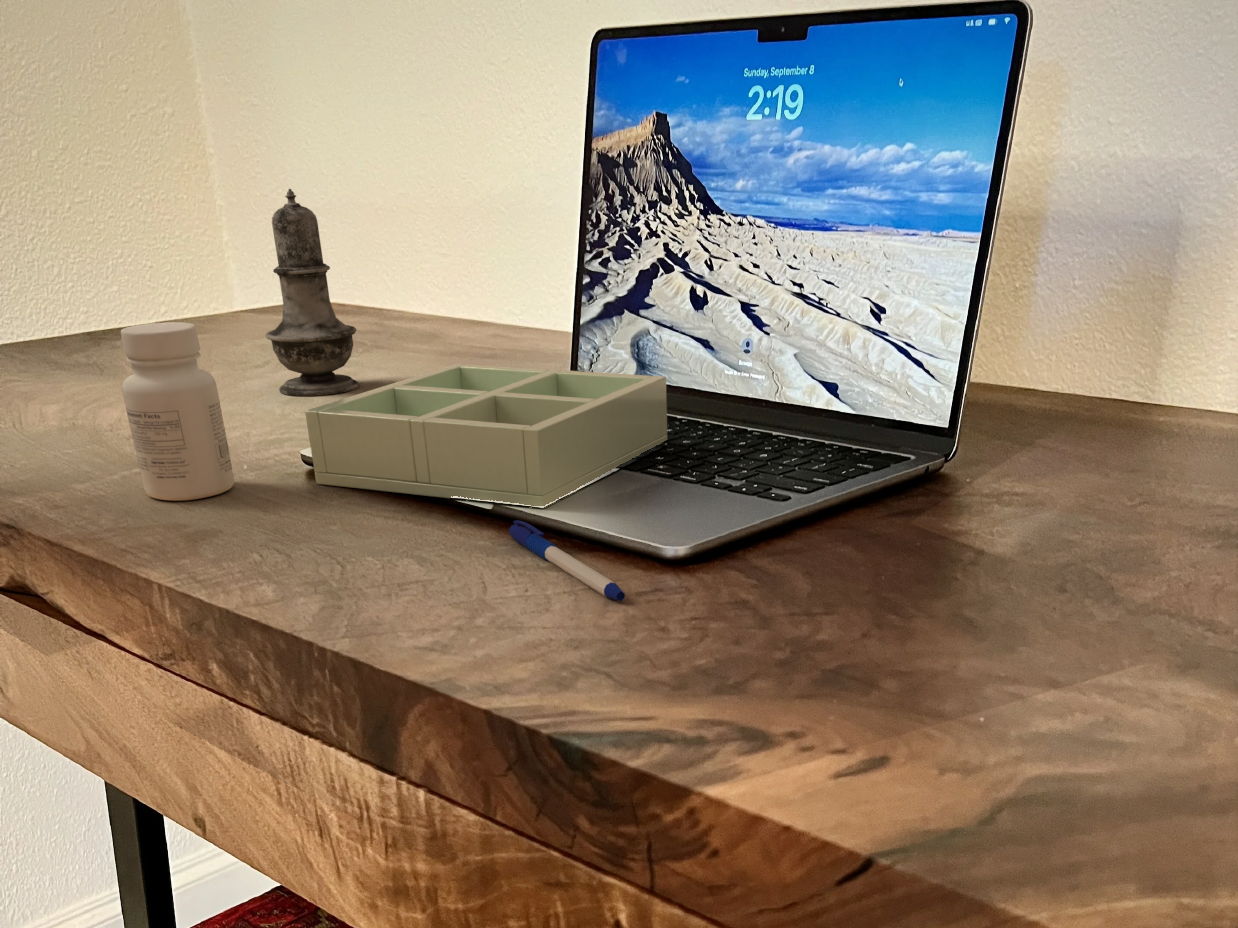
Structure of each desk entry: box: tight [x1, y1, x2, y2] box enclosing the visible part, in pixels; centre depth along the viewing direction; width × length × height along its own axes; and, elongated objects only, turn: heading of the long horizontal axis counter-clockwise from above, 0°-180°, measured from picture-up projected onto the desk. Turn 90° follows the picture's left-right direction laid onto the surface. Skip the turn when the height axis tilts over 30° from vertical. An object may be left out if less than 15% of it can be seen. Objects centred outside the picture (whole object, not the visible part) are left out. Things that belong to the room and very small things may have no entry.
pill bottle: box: [120, 321, 235, 502], centre depth 66 cm, size 4×4×8 cm
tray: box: [304, 363, 669, 506], centre depth 69 cm, size 13×13×4 cm
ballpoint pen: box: [508, 520, 626, 602], centre depth 55 cm, size 10×1×1 cm, turn 29°
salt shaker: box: [265, 188, 360, 397], centre depth 87 cm, size 6×6×12 cm
